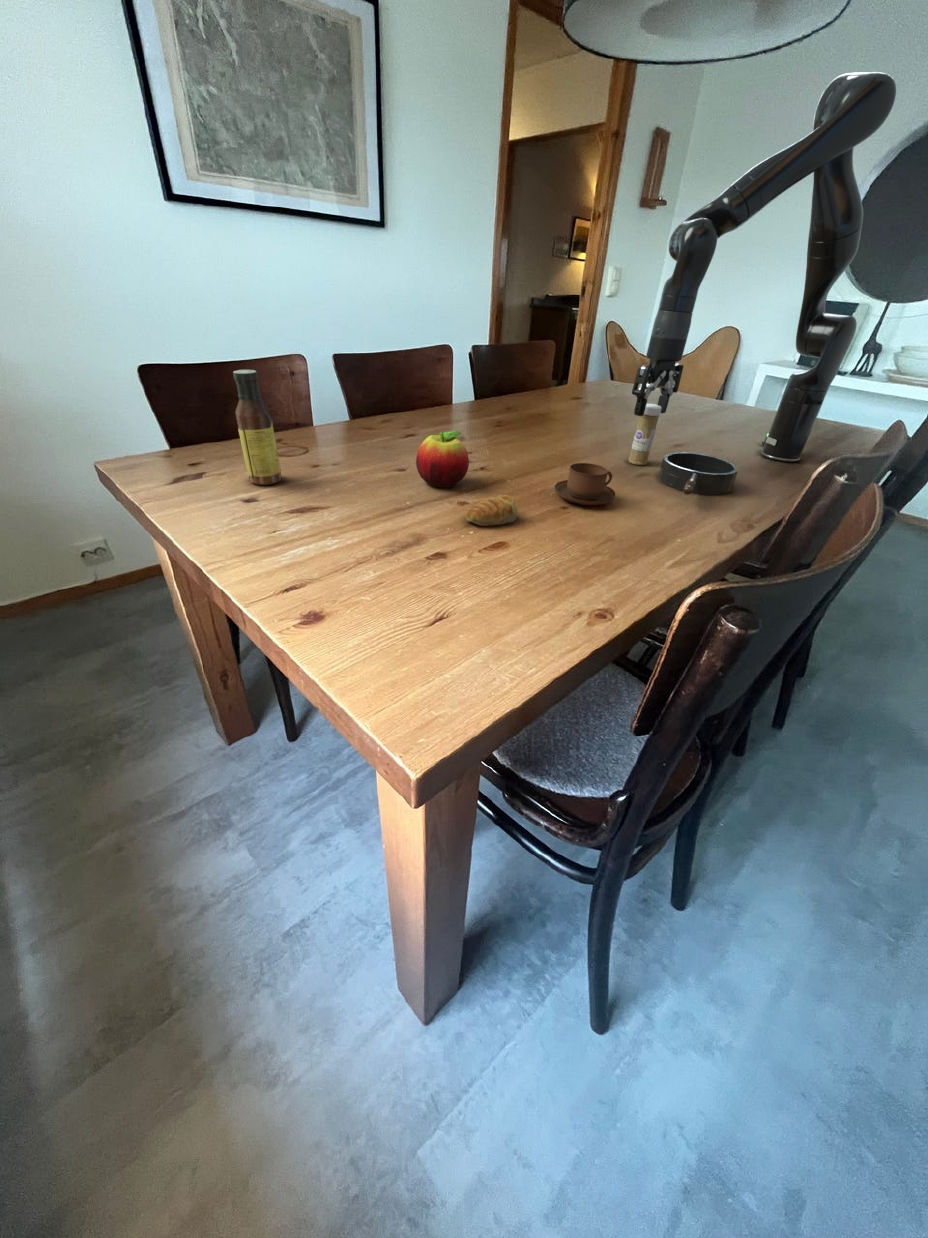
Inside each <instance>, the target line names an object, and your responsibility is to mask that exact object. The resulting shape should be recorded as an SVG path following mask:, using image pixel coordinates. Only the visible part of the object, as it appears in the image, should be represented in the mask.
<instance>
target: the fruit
mask: <svg viewBox="0 0 928 1238" xmlns="http://www.w3.org/2000/svg"><path fill="white" fill-rule="evenodd" d="M457 436H462V432H461V431H458V430H450V431H449V430H448V431H444V432H439V434H431V435H428V436H426V438H425V439H424V440H423V441H422V443H421V444H420V445H419V447H418V449H417V453H416V459H415V465H416V470H417V472H418V475H419V476H420V478H422V480H423V481H424V482H425V483H426V484H428V485H430V486H432V487H434V488H435V487H437V488H451V487H452V488H453V487H454V486H457V485H458V484H459V483H460V482H462V480H463V479H464V478H465V477H466V476H467V473H468V470H469V465H470V459H469V454H468V451H467V449H466V446H465V445H464V444H463V443H462V442H461V440H460V439H458V437H457Z"/></svg>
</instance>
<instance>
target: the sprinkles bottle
mask: <svg viewBox="0 0 928 1238" xmlns="http://www.w3.org/2000/svg"><path fill="white" fill-rule="evenodd" d="M661 409H662V407H661V406H659V405H658V404H655V403H647V404H646V408H645V412H644V415H643V416H638V417H639V418H638V421H637V426H636V430H635V434H634V436H633V441H632V445H631V451H630V455H629V458H628V463H630V464H631V465H635V466H645V465H647V464H648V460H649V456H650V452H651V449H652V446H653V441H654V437H655V434H656V429H657V425H658V420H659V418H660V415H661V414H662V413H661Z"/></svg>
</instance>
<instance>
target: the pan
mask: <svg viewBox="0 0 928 1238" xmlns="http://www.w3.org/2000/svg"><path fill="white" fill-rule="evenodd" d="M738 472H739V467H738V466H737V465H736V464H734V463H733V462H731V461H729V460H727V459H724V458H721V457H717V456H715V455H709V454H705V453H699V452H689V451H676V452H670V453H667V454H664V456H663V457H662V461H661V466H660V469H659V473H658V479H659V481H660V482H661V483H662V484H663V485H666V486H667V487H670V488H672V489H675V490H678V491H682V492H683V488H684V486H685V484H686V482H687V481H688V479H689V477H690V475H691V474H693V473H696V474H697V475H698V477H699V478H698V481H697V483H696V485H695V487H694V489H693V492H692V493H691V494H696V495H705V496H720V495H725V494H728V493H729V492H731V491H732V489H733V486H734V483H735V480H736V477H737V476H738V475H737V474H738Z"/></svg>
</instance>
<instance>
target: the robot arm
mask: <svg viewBox="0 0 928 1238" xmlns="http://www.w3.org/2000/svg"><path fill="white" fill-rule="evenodd" d="M896 97H897V84H896V81H895V79H894V78H893V77H892V76H891V75H890V74H887V73H884V72H880V71H879V72H878V71H869V72H868V71H867V72H859V71H857V72H847V73H844V74H841V75H839V76H837V77H835V78H834V79H833V80H832V81H831V82H830V83H829V84H827V86H826V88H825V89H824V90H823V92H822V94H821V96H820V98H819V100H818V103H817V105H816V109H815V111H814V112H815V113H814V116H813V123H812V126H813V127H812V132H810V133H808V134H807V135H806V136H804V137H803V138H801V139H800V140H798V141H797V142H795V143H793V144H791V145H789V146H788V147H786V148H784V149H782V150H780V151H778V152H777V153H775V154H773V155H771V156H769V157H767V158H766V159H764V160H762V161H761V162H759V163H758V164H756V165H754V166H753V167H752V168H750V169H749V170H748V171H746V173H744V174H743V175H742V176H740V178H738V179H737V180H735V181H734V182H733V183H732V184H731V185H729V186H728V187H727V188H726V189H725V190H724V191H723V192H722V193H721V194H719V196H717V197H716V198H715V199H713V200H711V201H710V202H708V203H707V204H706V205H704V206H703V207H701V208H700V209H698V210H696V211H695V212H694V213H693V214H691V215H690V216H688V217H687V218H686V219H685V220H683V221H682V222H681V223H680V224H678V226H677V227H675V229H674V230H673V232H672V234H671V235H670V238H669V241H668V242H669V243H668V252H669V255H670V257H671V258H672V260H674V261H675V262H676V263H675V266H674V269H673V272H672V275H671V276H670V277H669V278H668V279H667V280H666V281H665V282H664V285H663V288H662V292H661V295H660V301H659V305H658V310H657V313H656V315H655V318H654V320H653V324H652V330H651V334H650V338H649V342H648V346H647V351H646V358H647V359H649V362H648V365H643V364H639V365H638V367H637V371H636V374H635V378H634V381H633V382H634V383H633V385H632V390H631V395H634V396H635V397H636V401H635V407H634V411H633V414H634V415H635V416H636V417H637V416H638V417H640V416H643V415H644V412H645V408H646V404H648V398H649V397H650V395H651V393H652V392H654V391H655V390H656V389H657V388H659V391H660V395H659V398H658V400H657V405H659V406H661V407H662V409H661V413H660V414H666V412H667V409H668V405H669V402H670V398H671V397H672V396H673V394H675V393H676V394H677V393H678V391H679V387H680V384H681V380H682V379H681V378H682V375H683V372H684V371H683V370H684V364H680V363H677V362H680V361H681V360H682V359H683V356H684V352H685V348H686V344H687V341H688V337H689V333H690V329H691V325H692V318H693V314H694V313H693V312H694V309H695V306H696V302H697V298H698V293H699V289H700V287H701V285H702V282H703V281H704V278H705V277H706V274H707V272H708V270H709V267H710V265H711V263H712V260H713V258H714V255H715V253H716V249H717V244H718V239H720V238H721V237H722V236H724V235H725V234H728V233H730V232H733V231H735V230H737V229H739V228H740V227H741V226H743V225H744V224H745V223H747V222H748V221H749V220H751V219H752V218H753V217H754V216H755V215H757V214H758V213H759V212H760V211H762V210H763V209H764V208H766V206H768V205H769V204H771V202H773V201H774V200H776V199H777V198H778V197H780V196H781V195H782V194H783V193H785V192H786V191H788V190H789V189H790V188H792V187H793V186H795V185H796V184H798V183H799V182H801V181H803V180H804V179H805V178H806V177H808V176H810V175H811V174H812V176H813V177H812V179H813V180H812V194H811V207H810V219H809V220H810V222H809V230H808V238H807V250H806V268H805V277H804V287H803V295H802V297H803V298H802V302H801V309H800V313H799V317H798V323H797V329H796V336H795V350H796V352H797V353H798V354H799V355H801V356H805V357H810V358H815V359H818V361H817V362H816V364H815V366H813V367H811V368H809V369H806V370H802V371H796V372H793V373H791V374H790V376H789V378H788V380H787V383H786V386H785V389H784V391H783V394H782V396H781V399H780V402H779V405H778V408H777V410H776V412H775V415H774V418H773V419H772V423H771V426H770V429H769V431H768V433H767V434H766V436H765V438H764V441H762V442H761V445H762V446H763V448H762V450H760V451H761V452H760V456H762V457H765V458H767V459H770V460H773V461H777V462H778V461H779V462H785V463H798V462H799V461H800V460H801V456H802V454H803V452H804V449H805V446H806V444H807V442H808V439H809V438H810V435H811V433H812V430H813V428H814V425H815V423H816V420H817V418H818V416H819V413H820V411H821V408H822V406H823V404H824V401H825V399H826V396H827V394H828V391H829V389H830V387H831V384H832V383H833V382H834V380H835V378H836V376H837V374H838V372H839V370H840V368H841V366H842V363H843V361H844V359H845V357H846V354H847V353H848V351H849V349H850V347H851V345H852V343H853V340H854V337H855V335H856V332H857V323H858V322H857V319H856V318H855V317H854V315H853V316H852V315H848V314H839V313H838V314H837V313H829V312H826V303H827V300H828V299H827V298H828V295H829V293H830V291H831V289H832V288H833V286H834V285H835V284H836V282H838V280H839V279H840V277H841V276H842V275H843V274H844V272H845V271H846V270H847V268H848V267H849V266H850V264H851V263H852V261H853V260H854V258H855V257H856V255H857V253H858V250H859V246H860V242H861V234H862V228H863V222H864V207H863V201H862V197H861V192H860V189H859V185H858V182H857V179H856V175H855V171H854V148H855V147H856V146H858V145H859V144H861V143H862V142H864V141H866V140H867V139H868V138H870V137H872V136H873V135H874V134H875V133H876V132H877V131H878V130H879V129H880V128H881V127H882V125H883V124H884V123H885V121H887V119H888V117H889V115H890V113H891V111H892V110H893V107H894V104H895V101H896ZM639 385H640V387H639Z"/></svg>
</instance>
